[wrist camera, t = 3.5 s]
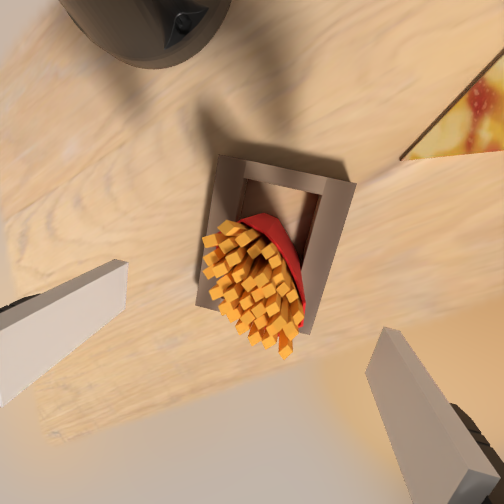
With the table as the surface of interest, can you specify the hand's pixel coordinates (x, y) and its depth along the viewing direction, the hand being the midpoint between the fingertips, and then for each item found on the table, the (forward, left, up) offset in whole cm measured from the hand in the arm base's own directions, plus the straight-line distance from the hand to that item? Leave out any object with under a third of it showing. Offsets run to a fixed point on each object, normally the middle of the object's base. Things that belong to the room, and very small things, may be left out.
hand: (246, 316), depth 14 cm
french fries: (0, 0, -15) cm, 15 cm away
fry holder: (0, 0, -15) cm, 15 cm away
